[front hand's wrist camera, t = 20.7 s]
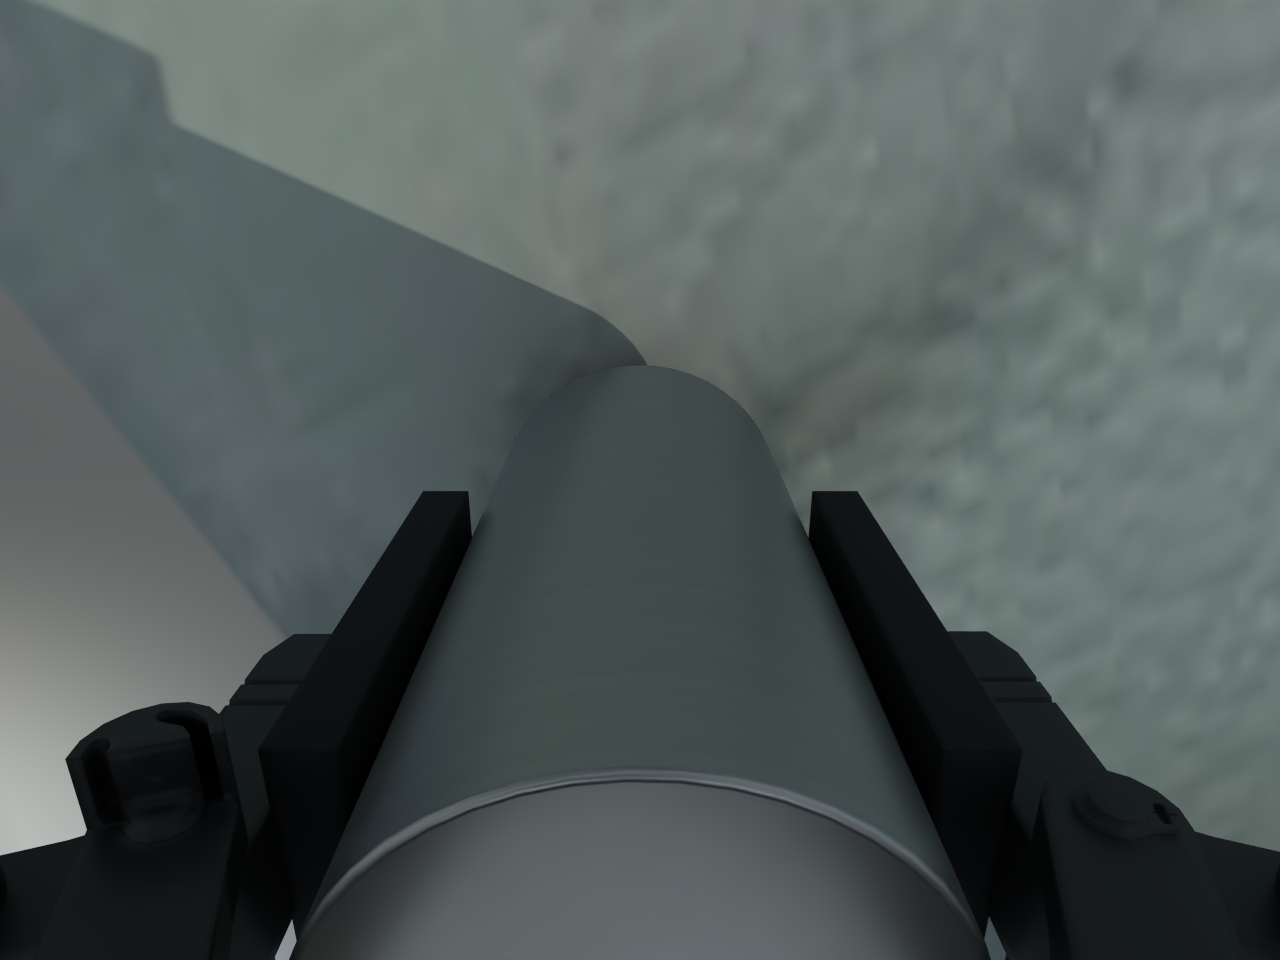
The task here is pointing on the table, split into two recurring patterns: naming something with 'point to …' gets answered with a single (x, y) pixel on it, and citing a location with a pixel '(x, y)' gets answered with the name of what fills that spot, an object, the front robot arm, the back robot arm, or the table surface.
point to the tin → (640, 724)
